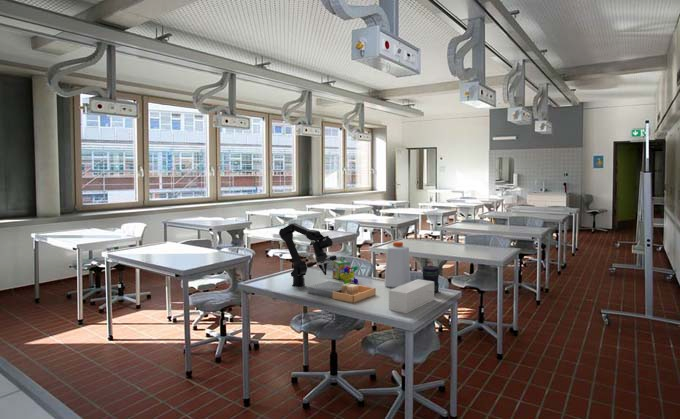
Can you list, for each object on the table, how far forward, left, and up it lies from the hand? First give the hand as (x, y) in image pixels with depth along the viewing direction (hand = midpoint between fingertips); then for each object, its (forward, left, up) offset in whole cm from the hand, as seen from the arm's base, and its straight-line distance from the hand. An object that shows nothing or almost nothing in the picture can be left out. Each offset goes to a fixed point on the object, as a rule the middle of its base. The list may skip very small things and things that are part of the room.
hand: (325, 275), depth 286 cm
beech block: (+14, -5, -6) cm, 16 cm away
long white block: (+55, -13, -10) cm, 58 cm away
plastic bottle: (+39, +27, -10) cm, 49 cm away
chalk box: (-2, +36, -10) cm, 37 cm away
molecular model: (+8, +22, -10) cm, 26 cm away
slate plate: (+4, -1, -10) cm, 11 cm away
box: (+20, -7, -10) cm, 23 cm away
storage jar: (+61, +18, -10) cm, 65 cm away
